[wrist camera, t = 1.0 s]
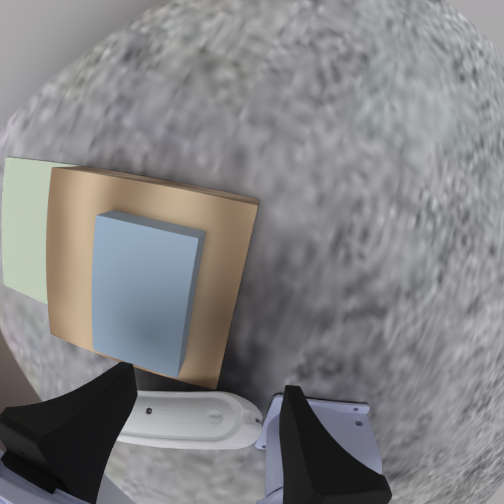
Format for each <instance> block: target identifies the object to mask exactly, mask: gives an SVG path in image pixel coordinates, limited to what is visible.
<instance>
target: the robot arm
mask: <svg viewBox="0 0 504 504" xmlns="http://www.w3.org/2000/svg"><path fill="white" fill-rule="evenodd" d="M137 396H138V392H137V386H136V380H135V374H134V367H133V364H131V363H127V362H123V361H122V362H120V363H118V364H117V365H115V366H114V367H112V368H111V369H109V370H108V371H106V372H105V373H103V374H101V375H100V376H98V377H97V378H95V379H94V380H92V381H90V382H88V383H87V384H85V385H83V386H81V387H79V388H78V389H76V390H74V391H72V392H69V393H67V394H65V395H62V396H60V397H57V398H54V399H51V400H48V401H44V402H41V403H37V404H31V405H25V406H17V407H6V409H5V410H4V411H3V412H2V413H1V414H0V439H1V441H2V442H3V444H4V445H5V447H6V449H7V451H6V452H5V453H3V451H1V449H0V504H96V500H97V495H98V491H99V487H100V483H101V480H102V476H103V473H104V470H105V467H106V464H107V461H108V458H109V456H110V453H111V450H112V448H113V446H114V444H115V442H116V440H117V438H118V436H119V434H120V432H121V431H122V429H123V427H124V425H125V423H126V421H127V419H128V418H129V416H130V414H131V412H132V410H133V407H134V404H135V402H136V399H137ZM282 400H283V401H282ZM354 408H356V409H354ZM369 410H370V407H369V405H368V404H356V403H344V402H333V401H323V400H315V399H306V397H305V396H304V394H303V391H302V389H301V388H300V386H291V385H286V386H285V391H284V395H275V396H274V397H273V399H272V402H271V404H270V407H269V410H268V412H267V415H266V417H265V420H264V422H263V425H262V427H263V431H262V433H261V435H260V437H259V438H258V439H257V440H256V442H255V447H256V448H258V449H265V450H266V474H265V499H262V500H257V502H256V504H388V503H389V501H390V500H391V498H392V493H391V490H390V487H389V484H388V482H387V480H386V478H385V476H383V475H381V474H382V460H381V455H380V452H379V449H378V446H377V443H376V440H375V437H374V434H373V431H372V428H371V425H370V423H369V420H368V417H367V413H368V411H369ZM264 445H265V446H264Z"/></svg>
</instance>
